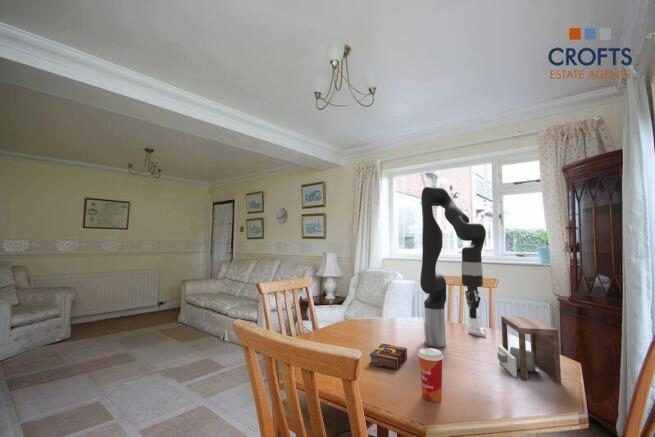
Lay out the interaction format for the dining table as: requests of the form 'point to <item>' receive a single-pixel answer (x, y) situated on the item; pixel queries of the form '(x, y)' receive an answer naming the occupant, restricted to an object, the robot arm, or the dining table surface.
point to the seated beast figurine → (476, 327)
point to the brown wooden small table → (535, 344)
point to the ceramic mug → (529, 358)
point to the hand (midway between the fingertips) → (472, 317)
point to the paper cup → (431, 373)
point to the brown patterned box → (388, 356)
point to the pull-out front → (507, 360)
